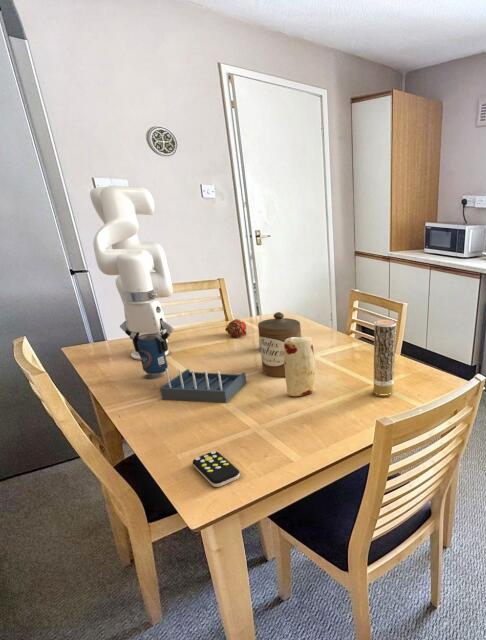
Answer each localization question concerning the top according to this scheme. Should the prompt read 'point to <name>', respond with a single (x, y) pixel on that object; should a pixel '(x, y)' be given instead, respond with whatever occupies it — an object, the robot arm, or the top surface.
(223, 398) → the dish rack
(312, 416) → the top surface
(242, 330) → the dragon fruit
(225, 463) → the remote control
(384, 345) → the wooden log
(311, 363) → the food model
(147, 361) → the soda can
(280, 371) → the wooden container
